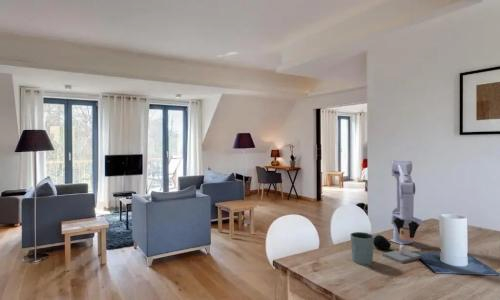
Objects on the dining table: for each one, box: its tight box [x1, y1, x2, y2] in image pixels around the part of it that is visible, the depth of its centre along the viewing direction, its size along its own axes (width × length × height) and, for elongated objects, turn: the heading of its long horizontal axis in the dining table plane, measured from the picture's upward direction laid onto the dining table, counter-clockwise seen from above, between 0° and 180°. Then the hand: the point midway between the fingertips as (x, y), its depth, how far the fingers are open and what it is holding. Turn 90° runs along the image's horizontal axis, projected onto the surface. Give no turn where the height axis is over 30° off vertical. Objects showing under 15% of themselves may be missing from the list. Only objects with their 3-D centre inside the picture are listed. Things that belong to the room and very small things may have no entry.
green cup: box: [349, 231, 375, 266], centre depth 145 cm, size 10×10×12 cm
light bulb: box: [373, 234, 399, 251], centre depth 160 cm, size 7×7×12 cm
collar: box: [400, 227, 414, 241], centre depth 151 cm, size 6×5×5 cm
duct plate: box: [382, 244, 422, 264], centre depth 150 cm, size 14×10×5 cm
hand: (406, 236), depth 151 cm, fingers closed on collar, 5 cm apart
